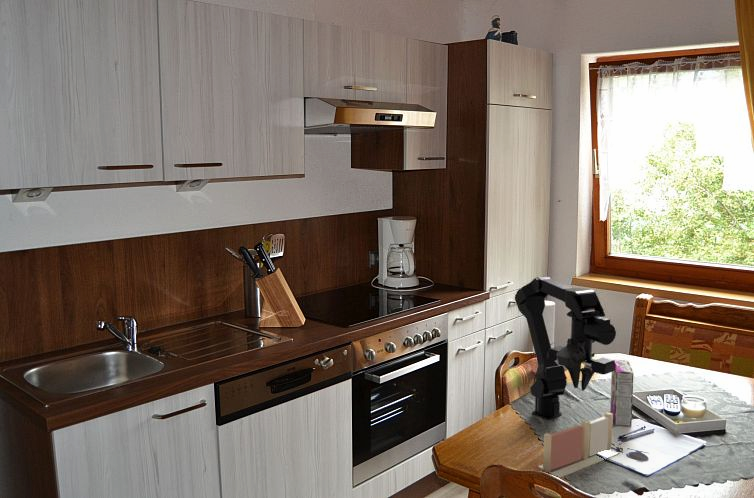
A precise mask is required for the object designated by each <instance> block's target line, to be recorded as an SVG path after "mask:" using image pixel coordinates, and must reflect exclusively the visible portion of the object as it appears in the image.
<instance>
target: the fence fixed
mask: <svg viewBox="0 0 754 498" xmlns="http://www.w3.org/2000/svg"><path fill="white" fill-rule="evenodd" d="M613 424H614V420H613V414H612V413H611V412H605V413H604V416H601V417H599V418H596V419H592V420H590V421H589V420H582V421H581V426H582V427H583V428H582V453H581V458H582V459H585V460H586V459H588V456H592V455H595V454H596V453H598V452H601V451H604V450H610V449H611V450H612V443H613V442H612V440H613V439H612V438H613Z"/></svg>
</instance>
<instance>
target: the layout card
mask: <svg viewBox="0 0 754 498" xmlns="http://www.w3.org/2000/svg"><path fill="white" fill-rule="evenodd" d="M602 461H605V460H604V459H603V458H601V457H599V456H597V455H596V454H595V455H592V456H588V459H586V460H585V459H582V458H581V460H579V461H576V462H573V463H570V464H568V465H565V466H562V467H559V468H556V469H553V470H551V471H550V472H548V473H549V474H550V475H552V476H555V477H557V476H558V477H559V479H561V478H563V477H565V476H566V477H567V476H568V475H570V474H573V473H575V472H578V471H580V470H583V469H585V468H587V467H590V466H593V465H595V464H597V463H600V462H602ZM537 467H538V468H539V469H541V470H543V464H541V465H538V466H537ZM558 477H557V478H558Z"/></svg>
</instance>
